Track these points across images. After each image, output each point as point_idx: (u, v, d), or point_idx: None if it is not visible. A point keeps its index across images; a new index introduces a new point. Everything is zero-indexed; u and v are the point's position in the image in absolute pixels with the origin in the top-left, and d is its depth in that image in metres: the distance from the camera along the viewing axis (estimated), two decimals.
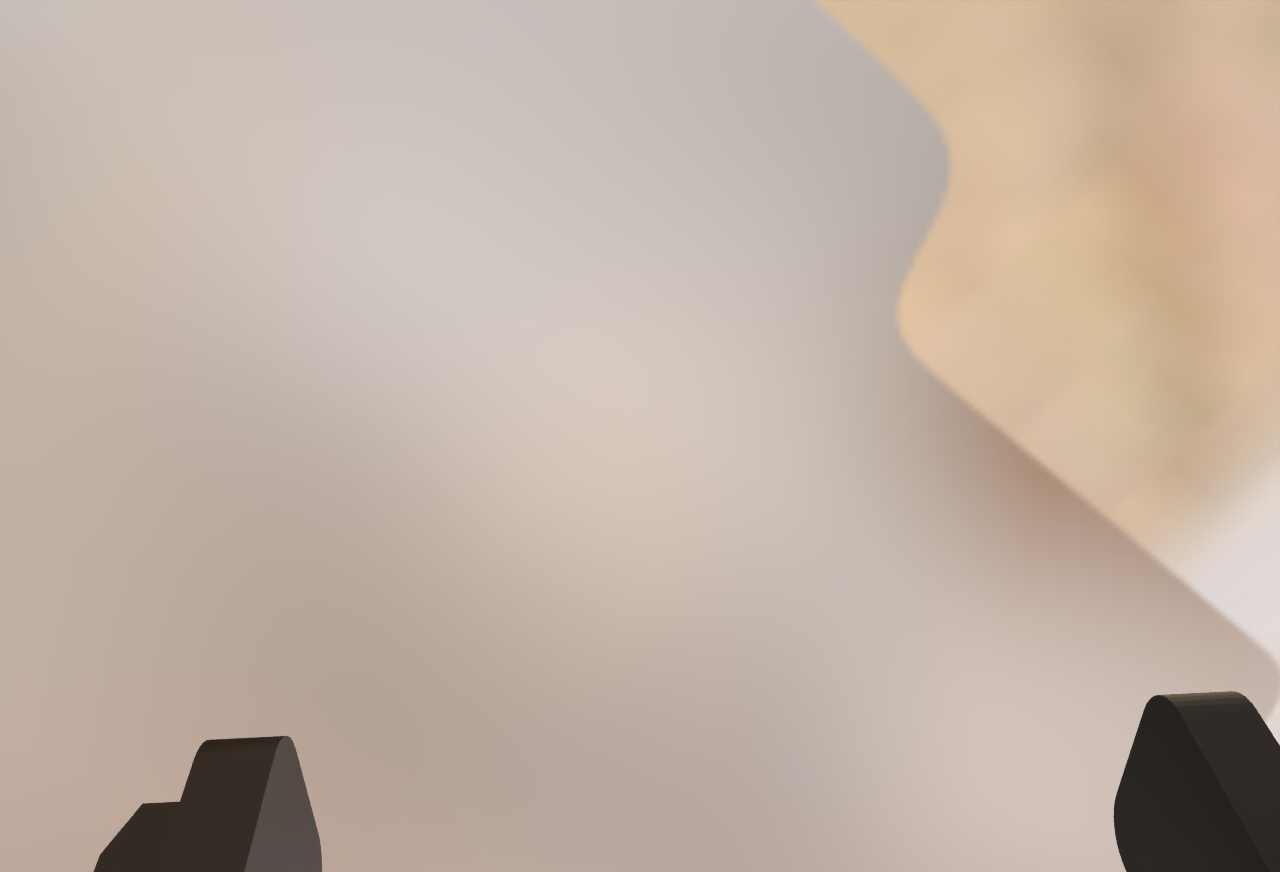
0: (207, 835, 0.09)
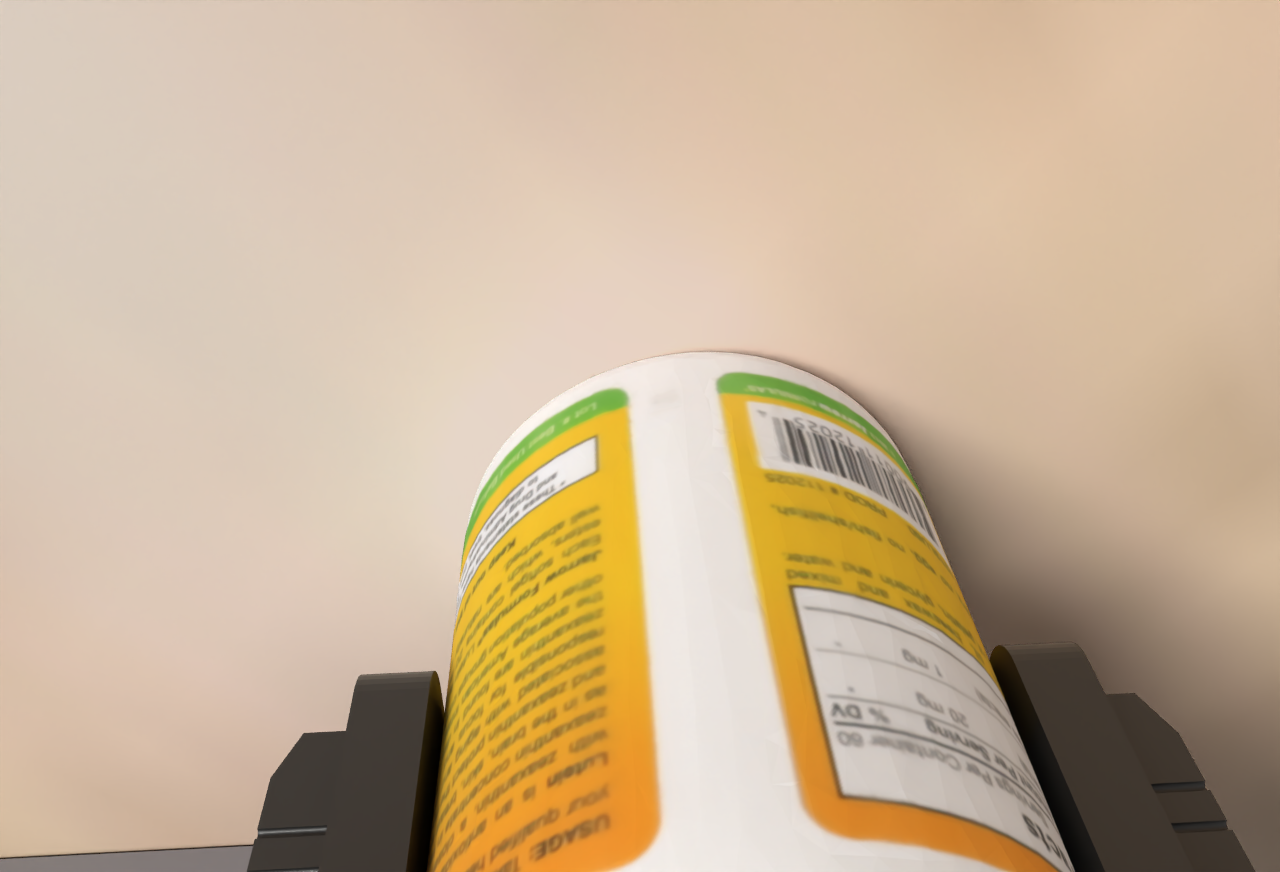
0: (376, 757, 0.10)
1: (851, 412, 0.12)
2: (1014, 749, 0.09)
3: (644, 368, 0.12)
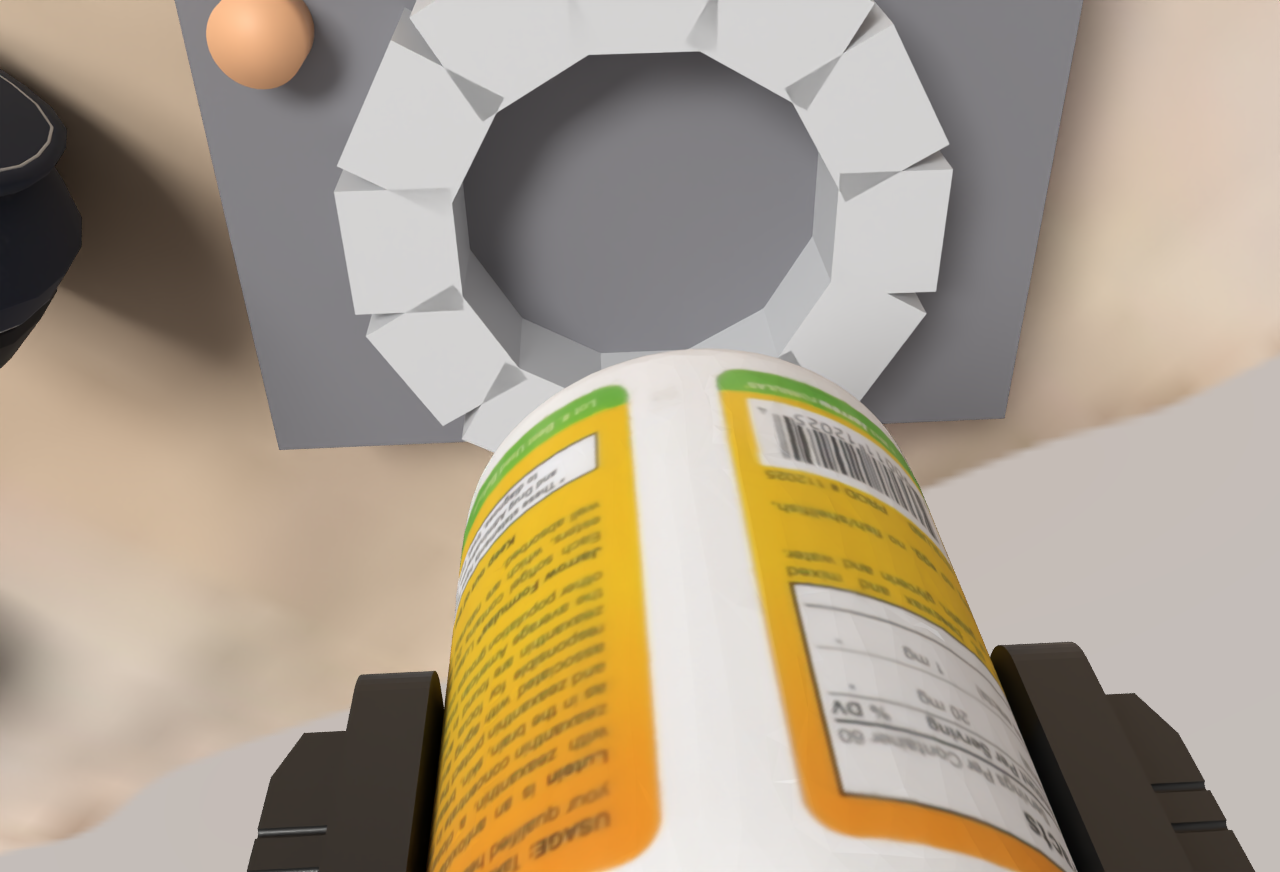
0: (376, 757, 0.10)
1: (852, 409, 0.12)
2: (1015, 746, 0.09)
3: (644, 365, 0.12)
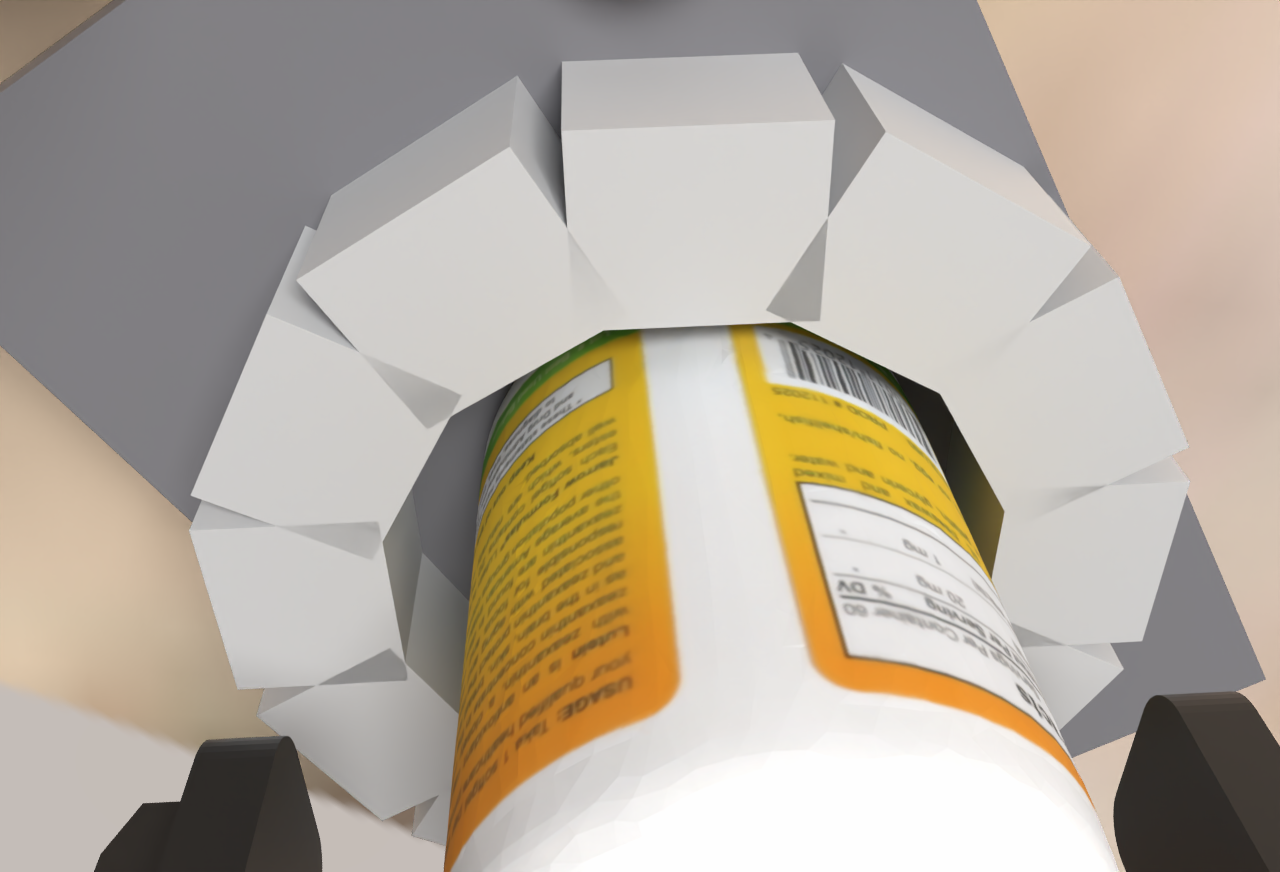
0: (207, 835, 0.09)
1: None
2: (1008, 633, 0.10)
3: None
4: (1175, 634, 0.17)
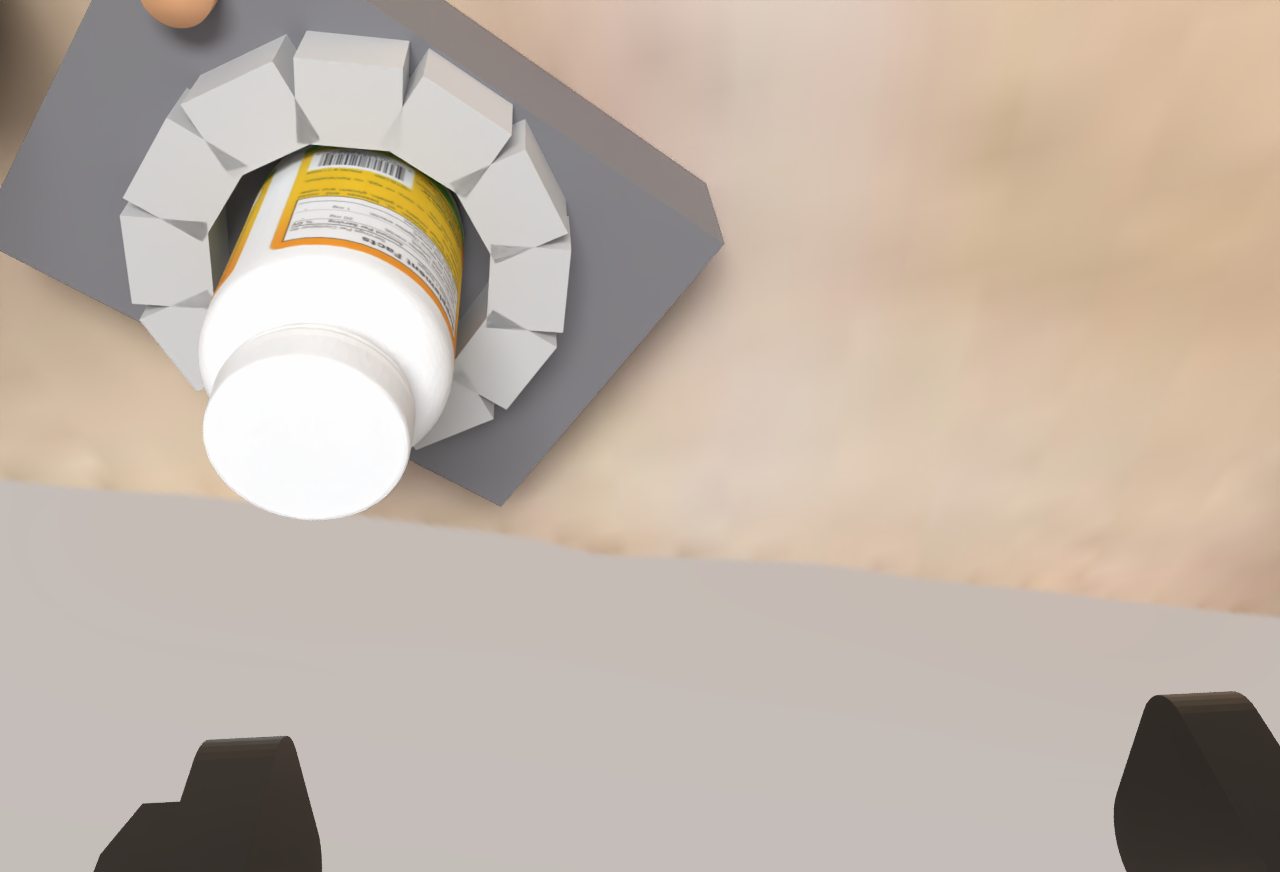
0: (206, 835, 0.09)
1: None
2: (384, 226, 0.26)
3: (285, 157, 0.29)
4: (655, 235, 0.32)
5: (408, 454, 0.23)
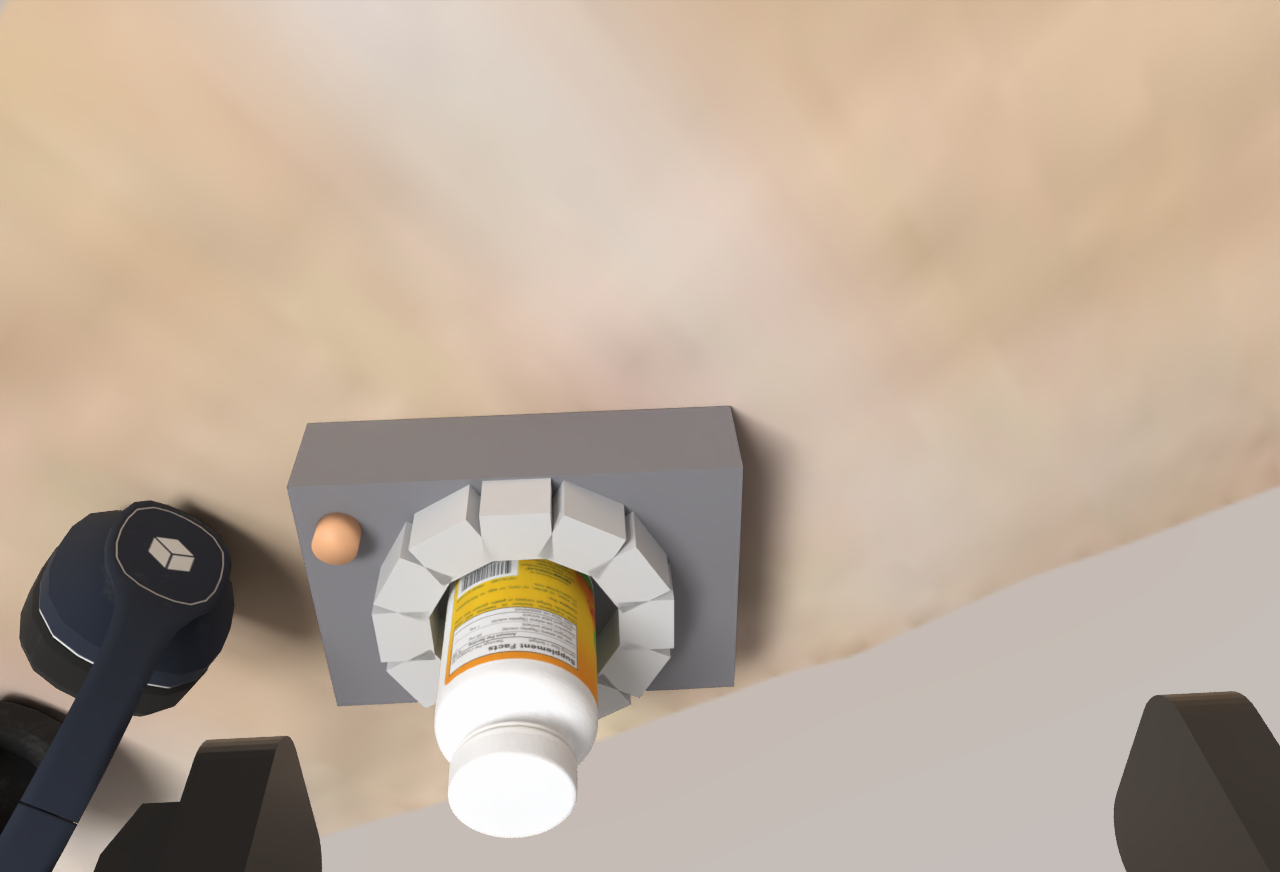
0: (206, 835, 0.09)
1: None
2: (501, 627, 0.39)
3: None
4: (695, 489, 0.42)
5: (568, 775, 0.36)
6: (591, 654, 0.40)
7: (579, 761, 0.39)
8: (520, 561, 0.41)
